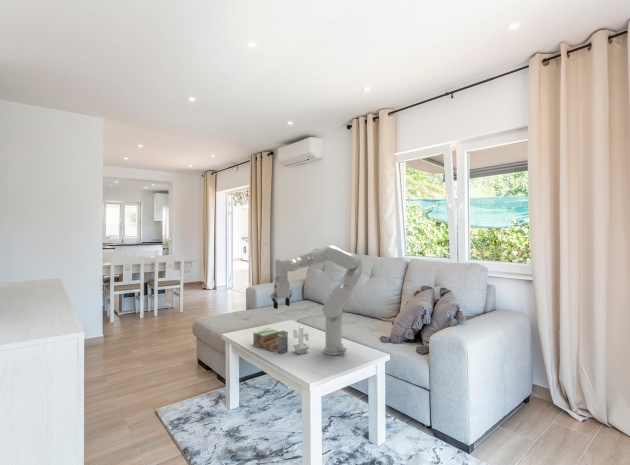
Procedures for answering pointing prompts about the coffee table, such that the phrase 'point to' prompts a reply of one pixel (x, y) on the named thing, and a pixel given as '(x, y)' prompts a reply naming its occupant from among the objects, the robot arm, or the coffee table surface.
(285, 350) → the column
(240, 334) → the coffee table surface
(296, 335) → the figurine
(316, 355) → the coffee table surface
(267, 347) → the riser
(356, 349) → the coffee table surface
